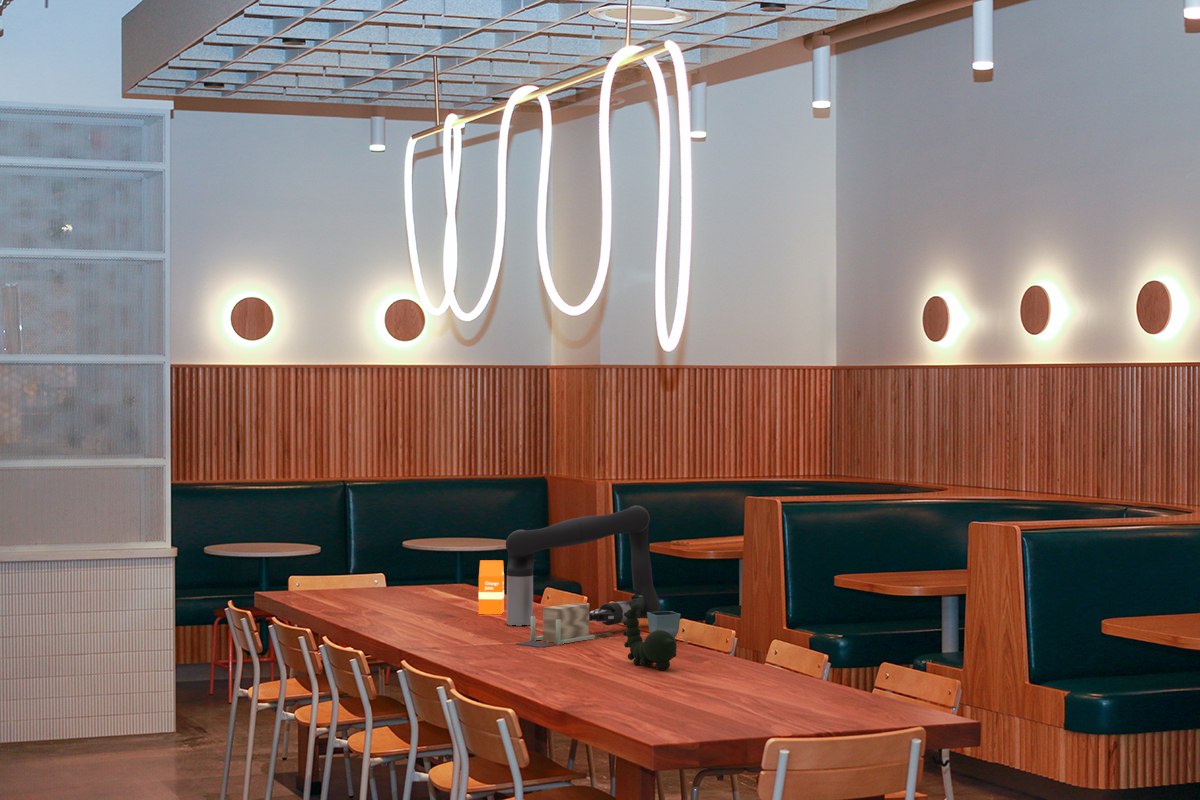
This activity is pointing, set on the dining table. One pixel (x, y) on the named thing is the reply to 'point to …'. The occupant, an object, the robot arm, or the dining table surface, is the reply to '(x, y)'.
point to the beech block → (566, 621)
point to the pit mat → (535, 644)
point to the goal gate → (558, 633)
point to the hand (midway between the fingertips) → (582, 618)
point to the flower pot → (664, 622)
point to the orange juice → (491, 587)
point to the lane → (603, 634)
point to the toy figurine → (648, 642)
